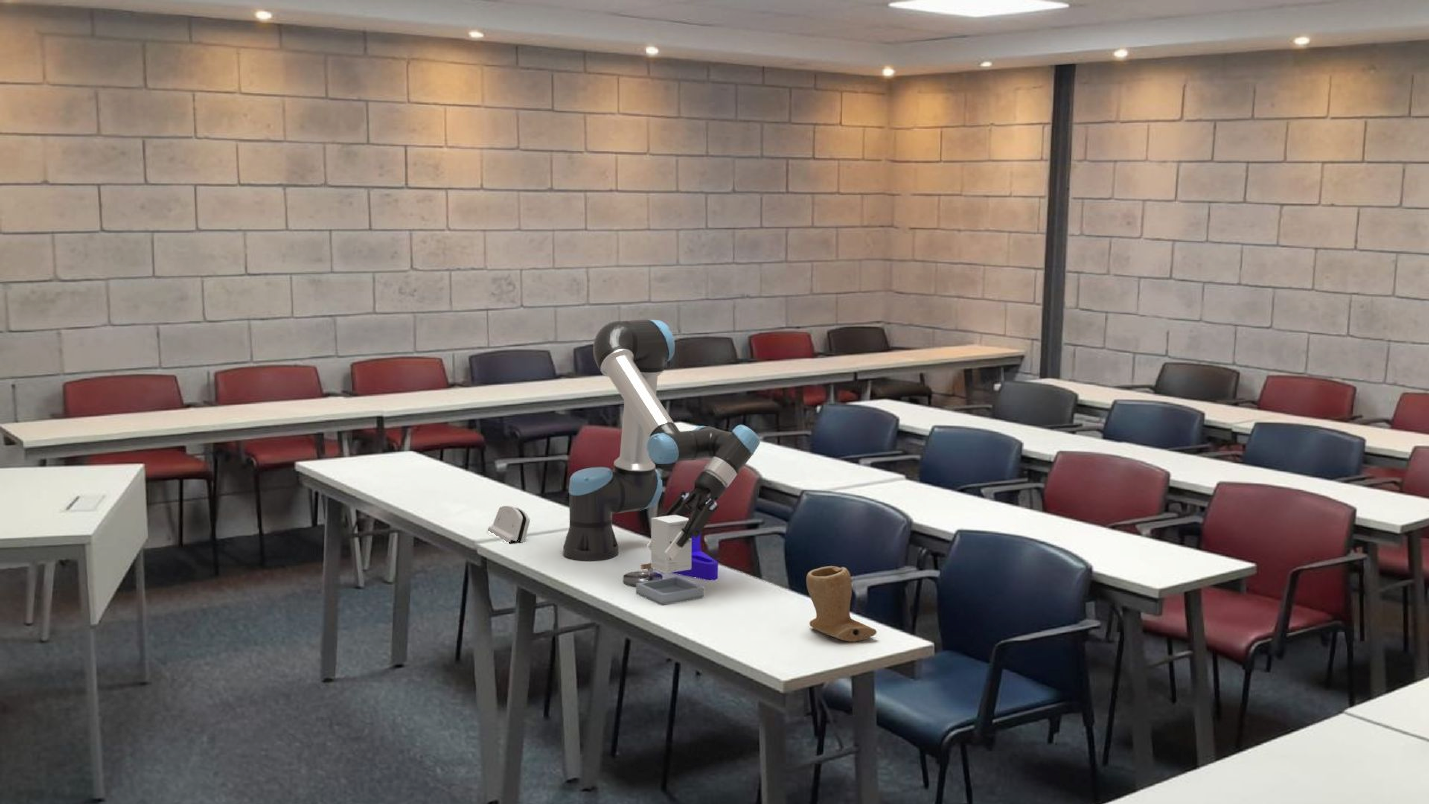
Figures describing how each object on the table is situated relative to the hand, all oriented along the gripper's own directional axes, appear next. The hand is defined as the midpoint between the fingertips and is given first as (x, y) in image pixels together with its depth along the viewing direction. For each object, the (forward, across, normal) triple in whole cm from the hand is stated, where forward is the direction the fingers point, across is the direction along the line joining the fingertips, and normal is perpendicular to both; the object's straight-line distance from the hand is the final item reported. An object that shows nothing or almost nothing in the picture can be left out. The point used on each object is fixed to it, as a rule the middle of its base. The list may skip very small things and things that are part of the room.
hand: (659, 552), depth 311 cm
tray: (+6, 0, -10) cm, 12 cm away
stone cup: (-4, -46, -21) cm, 50 cm away
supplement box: (+1, 0, -6) cm, 6 cm away
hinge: (+10, +77, -6) cm, 78 cm away
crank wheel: (+5, +14, -11) cm, 19 cm away
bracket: (-6, +15, -23) cm, 28 cm away
